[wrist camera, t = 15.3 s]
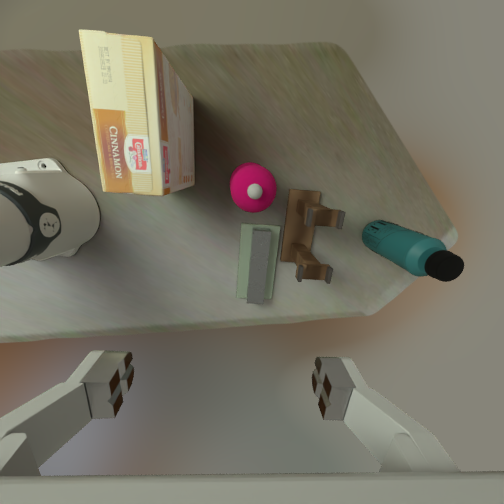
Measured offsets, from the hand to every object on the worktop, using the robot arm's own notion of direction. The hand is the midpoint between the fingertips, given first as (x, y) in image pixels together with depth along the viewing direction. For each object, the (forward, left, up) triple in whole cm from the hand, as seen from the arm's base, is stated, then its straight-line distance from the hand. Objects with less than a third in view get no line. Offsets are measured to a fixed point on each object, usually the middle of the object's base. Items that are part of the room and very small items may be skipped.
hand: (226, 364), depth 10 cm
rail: (+5, -11, -38) cm, 40 cm away
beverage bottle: (+29, -2, -39) cm, 49 cm away
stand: (+13, -2, -39) cm, 41 cm away
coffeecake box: (-12, +12, -39) cm, 43 cm away
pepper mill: (+2, +6, -39) cm, 40 cm away
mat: (+5, -11, -39) cm, 41 cm away
